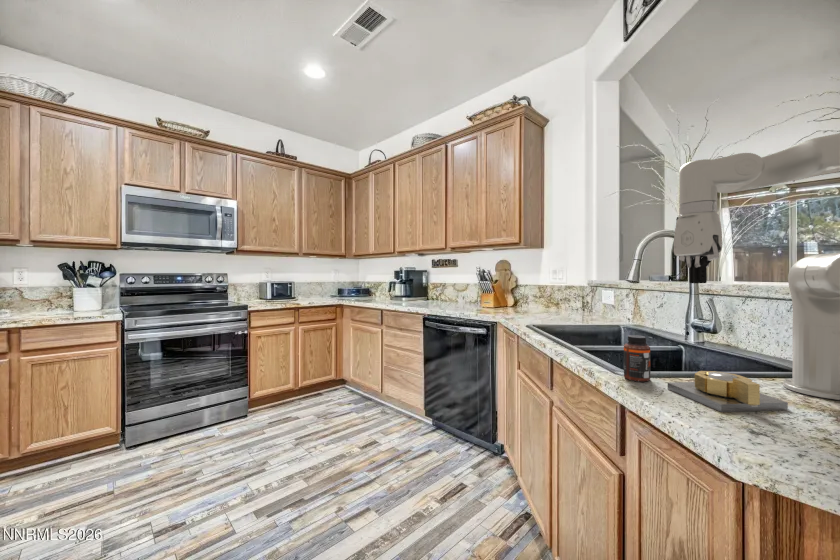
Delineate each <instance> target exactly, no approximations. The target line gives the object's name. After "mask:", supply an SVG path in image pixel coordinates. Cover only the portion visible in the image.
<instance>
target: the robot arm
mask: <svg viewBox="0 0 840 560" xmlns="http://www.w3.org/2000/svg"><path fill="white" fill-rule="evenodd" d="M839 172H840V132H839V133H833V134H829V135H825V136H818V137H817V136H816V137H814V138H810V139H807V140H805V141H802V142H799V143H797V144H795V145H791V146H789V147H788V148H785V149H781V150H780V151H777V152H775V153H771V154H769V155H766V156H760V155H758V154H756V153H752V152H741V153H736V154H730V155H727V156H723V157H717V158H713V159H708V158H706V159H696V160H692V161H689V162H687V163H684V164H682V166H681V167H680V168H679V176H678V177H679V178H678V179H679V180H678V181H679V184H678V185H679V187H678V188H679V193H678V194H679V198H678V199H679V200H678V201H679V203H678V205H679V210H678V213H679V215H678V216H679V218H677V219H676V225H675V228H674V234H673V235H674V237H673V254H674V255H675V256H676V257H677V256H678V257H679V258H678V260H679V261H681V262H684V263H686V266H687V268H688V272H689V276H688V277H689V279H688V280H689V283H690V284H707V281H708V280H707V277H708V275H707V273H708V272H707V268H709V267H710V263H711V262H712V261H715V260H717V259H719V258H720V255H719V254H720V253H721V252H722V249H723V232H722V231H723V229H722V224H721V219H720V214H719V213H718V193H719V194H720V193H721V194H730V193H736V192H742V191H748V190H754V189H760V188H765V187H769V186H773V185H777V184H783V183H788V182H793V181H794V182H796V181H800V180H805V179H808V178H812V177H818V176H819V177H820V176H824V175H829V174H834V173H839ZM787 279H788V280H787V281H788V288H789V292H790V296H791V304H792V305H791V306H792V378H789V379H788V378H787V379H784V380H783V381H782V385H783V387H784V388H786V389H787V390H791V391H793V392H796V393H800V394H803V395H807V396H810V397H811V396H812V397H816V398H817V397H818V398H822V399H828V400H836V401H837V400H838V401H840V252H832V253H817V254H813V255H809V256H805V257H803V258H801V259H799V260H797V261H796V262H794V264H793V265H792V266H791V267H790V269H789V271H788V275H787Z"/></svg>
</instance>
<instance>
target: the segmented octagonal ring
mask: <svg viewBox="0 0 840 560" xmlns="http://www.w3.org/2000/svg"><path fill="white" fill-rule="evenodd" d="M709 372H717V371H715V370H713V371H711V370H699V371H697V372H695V373H694V382H695V387H696V388H698V389H700V390H702V391H704V392H707V393H711V394H715V395H720V396H725V397H727V396H728V397H733V398H735V399H737V400H740V401H742V402H744V403H746V404H749V405H760V393H761V392H760V391H761V389H760V387H761V386H760V383H756V382H755V381H753V380H752V379H750V378H749V377H746V376H742V375H740V374H736V373H729V372H727V373H728V374H732V375H735V376H737V378H733V381H725V380H719V379H714V378H710V377H708V373H709ZM721 372H722V373H725V372H724V371H721Z"/></svg>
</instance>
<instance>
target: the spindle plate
mask: <svg viewBox="0 0 840 560" xmlns="http://www.w3.org/2000/svg"><path fill="white" fill-rule="evenodd" d="M722 372H723V371H716V372H709V373H708V377H710V378H714V379H719V380H725V381H733V378H737V376H735V375H732V374H733V373H730V374H728V373H729V372H724V373H722ZM667 390H670V391H671V392H674V393H676V394H679V395H681V396H683V397H685V398H687V399H690V400H693V401H695V402H697V403H699V404H702V405H705V406H706V407H709V408H711V409H714V410H716V411H718V412H720V413H726V412H730V413H732V412H756V411H757V412H759V411H760V412H761V411H762V412H763V411H788V410H789V405H788V401H784V400H781V399H779V398H776V397H774V396H773V397H772V396H770V395H766V394H763V393H761V392H760V405H749V404H746V403H744V402H742V401H740V400H737V399H735V398H733V397H728V396H727V397H725V396H720V395H715V394H711V393H707V392H704V391H702V390H700V389H698V388H696V387H695V381H685V382H683V381H678V382H676V381H675V382H667Z"/></svg>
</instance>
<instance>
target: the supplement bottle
mask: <svg viewBox="0 0 840 560" xmlns="http://www.w3.org/2000/svg"><path fill="white" fill-rule="evenodd" d="M627 341H628V342H626V343H625V344H624V345H623V377H624V378H625V379H627V380H629V381H632V382H641V383H642V382H643V383H646V382H649V381H650V380H651V347H650V345H649V344H647V338H646V336H643V335H633V334H632V335H631V334H630V335H629V334H628V335H627Z"/></svg>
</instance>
